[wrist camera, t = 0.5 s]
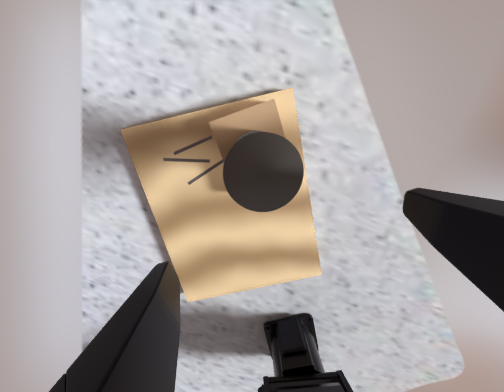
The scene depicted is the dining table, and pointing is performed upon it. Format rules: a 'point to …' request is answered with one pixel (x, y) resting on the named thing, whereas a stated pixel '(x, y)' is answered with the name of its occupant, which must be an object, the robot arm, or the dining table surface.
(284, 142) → the rubber stamp
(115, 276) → the dining table surface
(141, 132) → the pine board
